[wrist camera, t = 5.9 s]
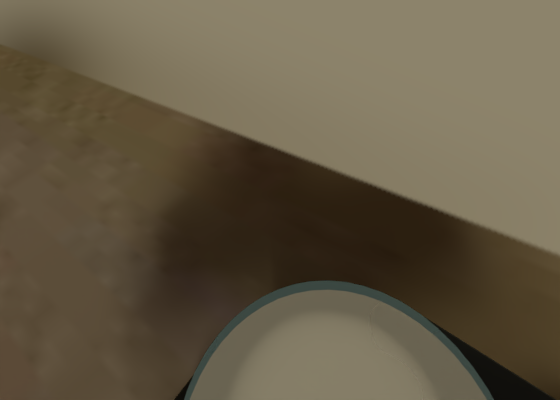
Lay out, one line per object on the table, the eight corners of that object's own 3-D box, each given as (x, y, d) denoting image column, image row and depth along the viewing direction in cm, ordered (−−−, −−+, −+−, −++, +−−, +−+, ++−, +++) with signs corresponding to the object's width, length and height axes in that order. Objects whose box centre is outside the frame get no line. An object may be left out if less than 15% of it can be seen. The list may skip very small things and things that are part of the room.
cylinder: (327, 466, 11) (356, 1092, 2) (257, 368, 13) (101, 436, 4) (398, 378, 12) (644, 500, 3) (323, 299, 14) (326, 222, 5)
